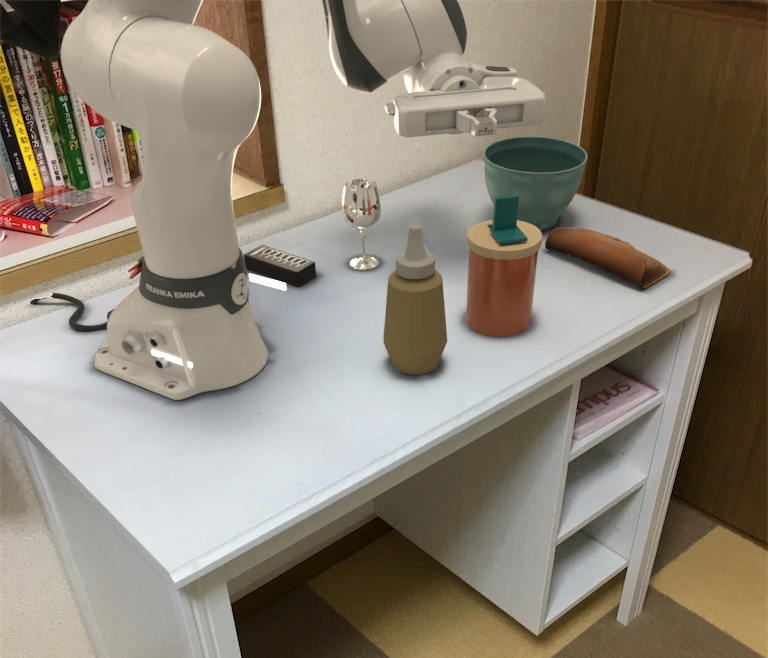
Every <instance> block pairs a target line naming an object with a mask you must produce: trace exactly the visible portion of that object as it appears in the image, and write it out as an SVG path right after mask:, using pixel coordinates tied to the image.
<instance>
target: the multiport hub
mask: <svg viewBox="0 0 768 658" xmlns="http://www.w3.org/2000/svg"><path fill="white" fill-rule="evenodd" d="M243 255H244V260H245V265H246V271H249V272H252V273H255V274H258V275H260V276H263V277H266V278H269V279H272V280H276V281H280V282H284V283H286V285H290V286H293V287H295V288H300V287H302V286H305V285H306V284H307V283H309V282H311V281H312V280H314V279H315V278H317V265H316V261H315V260H312V259H309V258H305V257H302V256H298V255H296V254H293V253H291V252H287V251H283V250H280V249H277V248H274V247H271V246H268V245H265V244H261V245H258V246H257V247H255V248H253V249H250V250H249V251H248V252H247V251H246V253H243Z"/></svg>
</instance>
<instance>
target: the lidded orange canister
mask: <svg viewBox="0 0 768 658" xmlns="http://www.w3.org/2000/svg"><path fill="white" fill-rule="evenodd" d="M538 257H539V250H538V251H537V252H536V253H534V254H533V255H530V256H528V257H524V258H520V259H512V260H500V259H492V258H487V257H483V256H481V255H478V254H476V253H474V252H473V251H472V250H470V248H469V247H468V265H467V266H468V268H467V286H466V289H467V290H466V309H465V322H466V324H467V326H468V327H469V328H470V329H471V330H472V331H474V332H476V333H478V334H480V335H484V336H488V337H495V338H496V337H499V338H500V337H504V338H505V337H512V336H515V335H518V334H521V333H523V332H525V331H526V330H527V329H529V327H530V325H531V321H532V314H533V313H532V312H533V304H534V303H533V302H534V294H535V283H536V275H537V265H538Z"/></svg>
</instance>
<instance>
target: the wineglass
mask: <svg viewBox="0 0 768 658" xmlns="http://www.w3.org/2000/svg"><path fill="white" fill-rule="evenodd" d="M341 199H342V201H341V211H342V216H343V219H344V221H345V222H346V224H347V225H348V226H349V227H351V228H353V229H356V230H359V239H360V241H361V256H357V257H354V258H352V259H351V260H350V262H349V266H350V267H351V268H352V269H355V270H358V271H366V270H367V271H369V270H371V269H375V268H377V267H378V266H379V265H380V262H379V260H378V259H377V258H376V257H374V256H368V255H367V253H366V239H367V232H366V231H367V230H366V229H370V228H373V227H374V226H375V225H377V223H378V222H379V220H380V219H381V216H382V199H381V195H380V191H379V187H378V183H377V182H376V181H375V180H373V179H369V178H356V179H355V178H354V179H351V180H349V181H347V182H345V184H344V187H343V192H342V198H341Z"/></svg>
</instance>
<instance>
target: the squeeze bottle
mask: <svg viewBox="0 0 768 658" xmlns="http://www.w3.org/2000/svg"><path fill="white" fill-rule="evenodd" d="M387 277H388V278H387V287H386V288H387V289H386V303H385V312H384V313H385V315H384V326H383V345H384V347H385V350H386V352H387V354H388V357H389V360H390V362H391V364H392V366H393V367H394V369H395V370H396V371H398V372H399V373H402V374H406V375H409V376H414V375H415V376H417V375H419V376H420V375H424V374H428V373H431V372H432V371H434V370H436V368H437V367H438V365H439V364H440V360H441V358H442V355H443V354H444V351H445V348H446V346H447V343H448V331H447V319H446V307H445V293H444V281H443V275H442V274H441V273H440V272H439V271H438V270H437V269H436V256H435V254H433V252H431V251H430V250H429V251H428V250H427V249H426V247H425V242H424V236H423V232H422V227H421V225H420V224H412V225H410V226H409V231H408V236H407V240H406V245H405V249H404V250H403V251H401V252H398V253H397V255H396V256H395V270H393V271H392V272H391V273H390V274H389V275H388V276H387Z"/></svg>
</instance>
